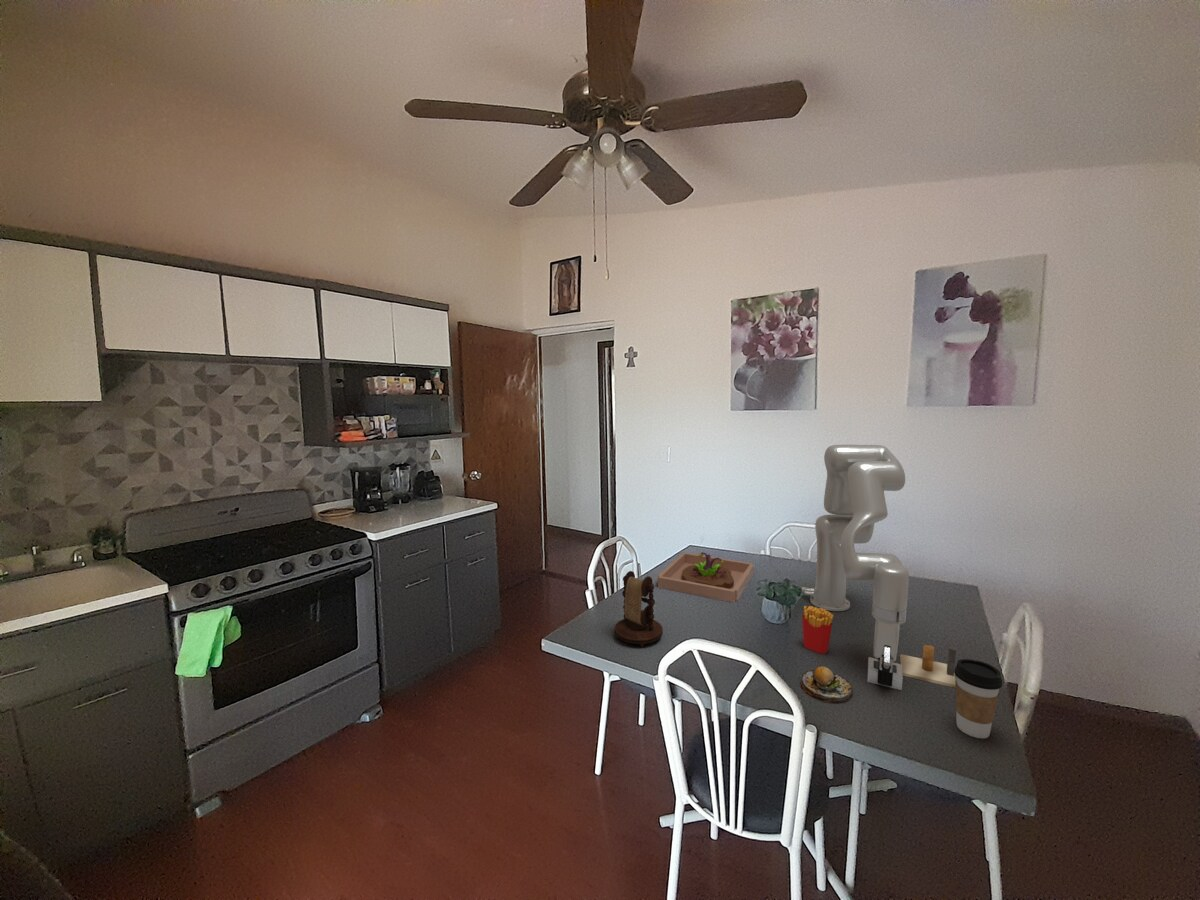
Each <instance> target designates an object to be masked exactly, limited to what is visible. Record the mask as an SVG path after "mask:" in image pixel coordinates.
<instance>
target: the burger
mask: <svg viewBox="0 0 1200 900" xmlns="http://www.w3.org/2000/svg"><path fill="white" fill-rule="evenodd" d="M800 685H801V687H802V690H803V691H804V693H807V694H808V695H809V696H810V697H812V698H814V700H815V699H816V700H817V701H821V702H823V703H828V704H839V703H841V704H842V703H843V702H847V701H850V700H851V699H852V698H853V693H854V692H853V691H854V690H853V686H852V685H851V683H850V682H849V681H848V680H847V679H846V678H844V677H843V676H841V675H840V674H837V673H834V672H832V670H831V669H829V668H828V667H826V666H821V665H819V667H817V668H815V669H811V670H808V671H804V673H803V674H801V680H800Z"/></svg>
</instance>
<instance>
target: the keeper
mask: <svg viewBox="0 0 1200 900" xmlns="http://www.w3.org/2000/svg"><path fill="white" fill-rule="evenodd" d="M922 649H923V650H922V658H920V657H915V656H911V655H907V654H902V653H901V654H900V653H899V659H900V663H899V664H902V675H903V677H906V678H911V679H916V680H920V681H925V682H928V683H931V684H935V685H941V686H945V687H949V688H955V689H956V686H955V681H956V675H955V673H954V670H955V667H956V665H955V664H956V656H957V650H956V649H957V648H956V647H955V646H950V645H949V646H948V652H947V663H943V662H939V661H934V660H935V657H934V656H935V647H934V646H933V645H930V644H924V645H923V648H922Z"/></svg>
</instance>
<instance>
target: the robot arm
mask: <svg viewBox="0 0 1200 900" xmlns="http://www.w3.org/2000/svg"><path fill="white" fill-rule="evenodd" d="M823 457H824V458H823V461H824V466H825V469H826V481H825V489H824V495H823V507H824V510H825V511H826V512H827V513H829V514H822V515H820V516H819V517H817V518H816V520H815V523H814V524H815V525H814V527H815V529H814V530H815V535H816V570H815V571H816V573H815V586H814V587H807V586H801V593H804V595H805V596H810V598H809V601H810V603H811V604H812V605H813V606H814V607H817V608H819V609H820V608H823V609H826V611H829V612H830V611H831V612H844V611H848V610H849V609H850V608H851V602H850V600H848V599H847V598H846V596H847V595H846V593H847V592H846V591H847V578H848V579H849V580H851V581H854V582H873V585H872V586H873V589H872V590H873V591H872V605H871V606H872V607H871V616H872V617H873V618H874V619H875V622H874V634H873V635H874V637H873V658H875V659H880V668H878V680H877V682H878V683H879V684H882V685H886V686H892V680H893V671H892V663H895V662H896V661H897V654H898V648H899V639H900V628H901V625H903V624H905V623H906V620H907V608H908V595H909V594H908V592H909V580H910V573H909V570H908V569H907V568H906V566H904V565H903V562H902V561H901V560H900V558H899V557H898V556H897V555H894V554H891V553H881V552H880V553H879V552H878V553H877V552H856V550H855V544H857V545H858V544H859V545H860V544H867V543H869V542H870V541H871V539H872V537H873V533H874V528H875V524H876V523H879V522H881V521H884V519H886V518H887V517H888V514H889V513H888V507H887V502H886V497H885V491H886V492H890V491H891V492H898V491H901V490H902V489H904V487H905V484H906V474H905V469H904V468H903V465H902V464H901V463H900V461H899V460H898V459H897V457H896V456H895V455H894V454H893V453H892V452H891V451H890V449H888V447H886V446H885V445H881V444H880V445H879V444H834V445H833V444H832V445H830V446H828V447H827V448H826V450H825V451H824V456H823ZM882 660H884V663H883V664H882ZM882 685H881V686H882ZM886 686H885V687H886Z"/></svg>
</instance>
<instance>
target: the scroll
mask: <svg viewBox="0 0 1200 900" xmlns="http://www.w3.org/2000/svg"><path fill="white" fill-rule="evenodd" d="M622 581H623V590H622V592H621V593H622V596H623V598H624V600H623V604H624V605H622V609H623V619H621V620H619V621H617V623H615V625H614V634H615V637H616V638H618V639H619V640H621V641H622V642H626V643H628V644H633V645H634V644H635V645H639V646H640V648H644V645H645V644H650V643H654V642H656V641H658V640H660V639H661V637H662V636H663V633H664V631H663V626H662V624H661V623H660V622H659V621H657V620H656V619H654V618H655V614H654V612H655V611H654V605H655V604H656V601H655V599H654V589H655V585H654V583H653V578H652V577H651V576H648V575H647V576H645V578H644V579H641V578H637V577H636V574H635V572H634V571H633V570H629V571H628V572H627V573H626V574H625V575H624V576H623V577H622ZM642 602H643V603H644V604H647V605H646V606H645V607H644V609H642Z"/></svg>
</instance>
